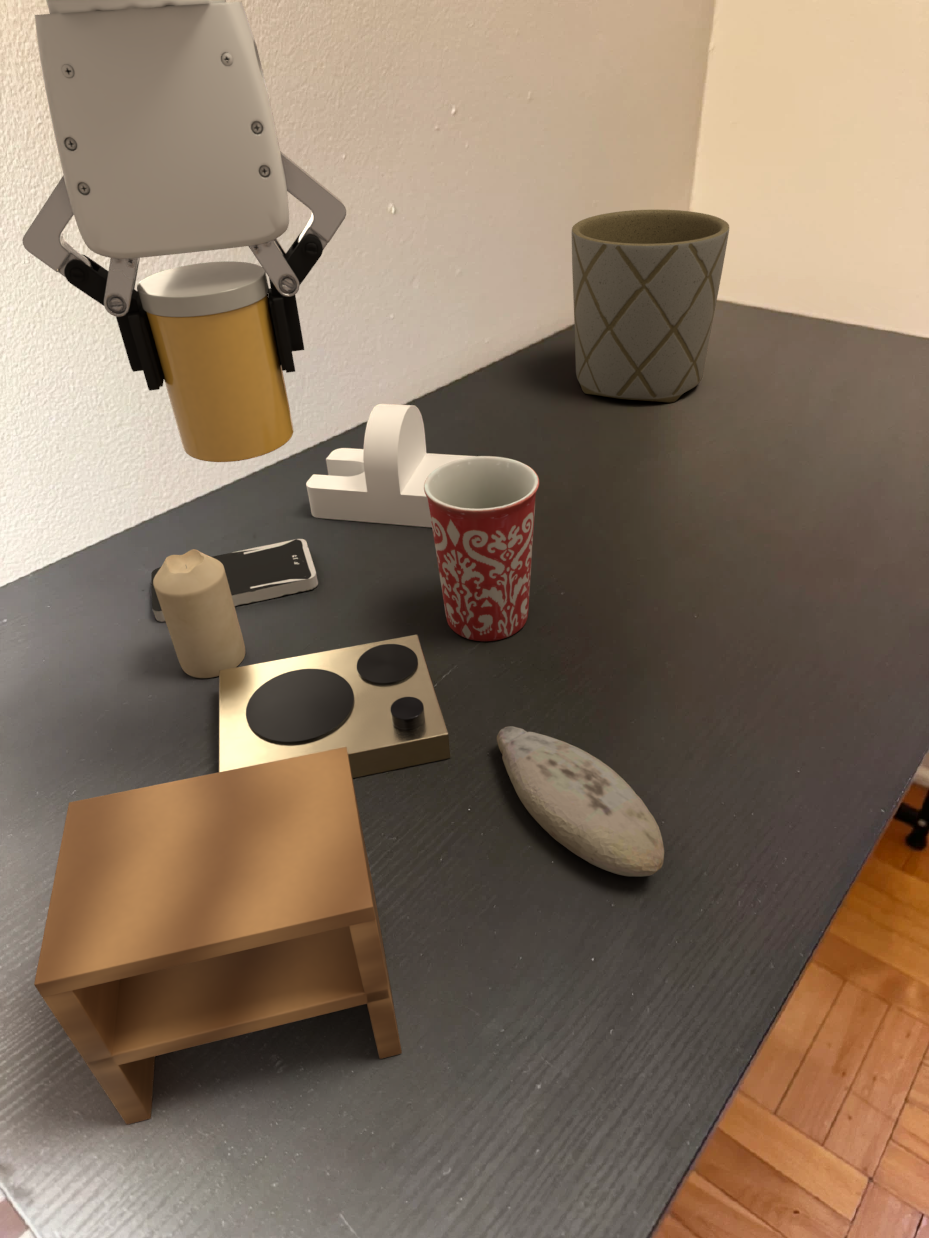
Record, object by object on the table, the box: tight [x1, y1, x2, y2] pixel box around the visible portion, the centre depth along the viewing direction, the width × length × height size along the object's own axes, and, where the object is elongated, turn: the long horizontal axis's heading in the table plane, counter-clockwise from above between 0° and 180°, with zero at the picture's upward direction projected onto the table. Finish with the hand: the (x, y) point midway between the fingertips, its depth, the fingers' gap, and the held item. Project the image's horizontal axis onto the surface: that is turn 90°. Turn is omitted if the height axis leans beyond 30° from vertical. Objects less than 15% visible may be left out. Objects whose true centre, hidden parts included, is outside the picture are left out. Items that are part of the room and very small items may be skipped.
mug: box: [424, 455, 540, 642], centre depth 72 cm, size 13×9×14 cm
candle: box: [153, 548, 246, 679], centre depth 69 cm, size 6×6×10 cm
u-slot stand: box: [305, 403, 477, 528], centre depth 89 cm, size 10×18×11 cm, turn 76°
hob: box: [218, 634, 451, 779], centre depth 63 cm, size 16×12×4 cm
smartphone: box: [150, 538, 319, 623], centre depth 80 cm, size 8×1×15 cm
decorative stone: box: [496, 725, 665, 877], centre depth 56 cm, size 6×16×3 cm, turn 37°
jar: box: [136, 260, 295, 463], centre depth 47 cm, size 7×7×9 cm
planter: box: [571, 209, 730, 404], centre depth 110 cm, size 19×19×20 cm
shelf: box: [33, 747, 403, 1125], centre depth 43 cm, size 14×10×13 cm
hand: (222, 370), depth 47 cm, fingers closed on jar, 6 cm apart
